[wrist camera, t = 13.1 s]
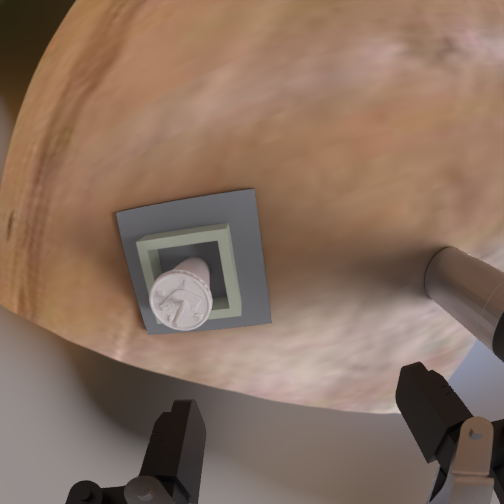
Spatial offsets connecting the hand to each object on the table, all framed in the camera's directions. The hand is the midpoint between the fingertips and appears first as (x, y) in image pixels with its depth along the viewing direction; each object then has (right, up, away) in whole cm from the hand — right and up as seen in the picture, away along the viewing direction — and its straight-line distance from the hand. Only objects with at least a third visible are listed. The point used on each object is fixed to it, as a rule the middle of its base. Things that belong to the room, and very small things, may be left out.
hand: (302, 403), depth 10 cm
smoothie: (-9, +3, +27) cm, 29 cm away
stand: (-9, +4, +28) cm, 30 cm away
